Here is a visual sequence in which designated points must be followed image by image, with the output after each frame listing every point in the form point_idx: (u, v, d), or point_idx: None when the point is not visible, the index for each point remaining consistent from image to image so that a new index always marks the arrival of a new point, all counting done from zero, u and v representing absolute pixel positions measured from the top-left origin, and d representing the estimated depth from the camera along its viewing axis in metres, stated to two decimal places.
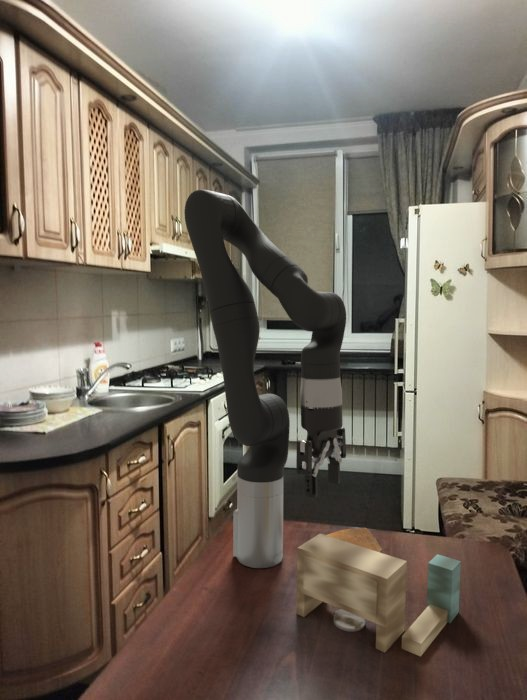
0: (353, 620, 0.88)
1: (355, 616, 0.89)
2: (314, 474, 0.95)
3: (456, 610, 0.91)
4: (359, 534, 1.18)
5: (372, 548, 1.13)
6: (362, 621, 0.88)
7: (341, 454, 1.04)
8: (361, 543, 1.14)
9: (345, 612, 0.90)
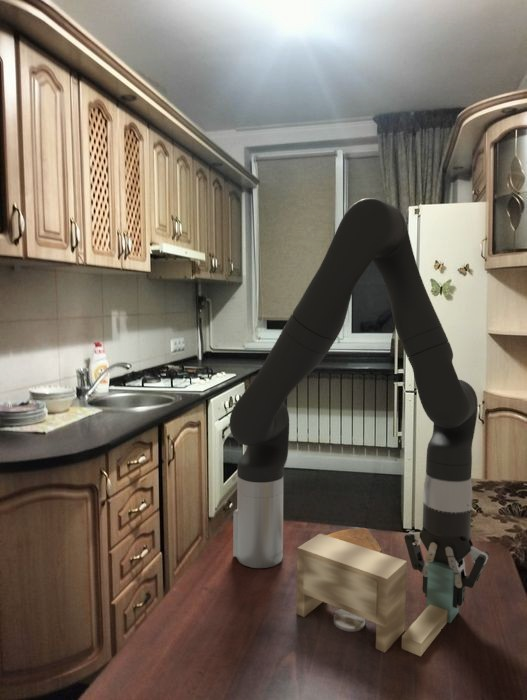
0: (352, 620, 0.88)
1: (355, 616, 0.89)
2: None
3: (456, 610, 0.91)
4: (358, 534, 1.17)
5: (372, 548, 1.13)
6: (362, 621, 0.88)
7: (423, 561, 0.94)
8: (361, 543, 1.14)
9: (345, 612, 0.90)
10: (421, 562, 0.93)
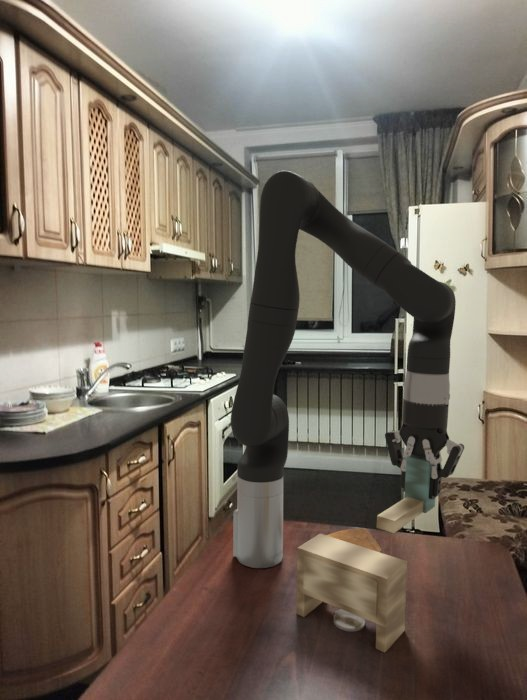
0: (352, 620, 0.88)
1: (355, 616, 0.89)
2: None
3: (432, 503, 0.95)
4: (358, 535, 1.17)
5: (372, 548, 1.13)
6: (362, 621, 0.88)
7: (403, 459, 0.98)
8: (361, 543, 1.14)
9: (345, 612, 0.90)
10: (400, 459, 0.97)
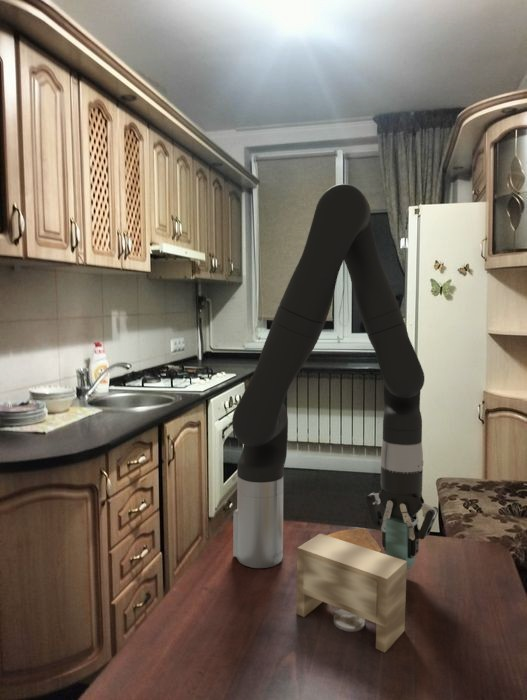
0: (352, 620, 0.88)
1: (355, 616, 0.89)
2: None
3: (411, 561, 1.02)
4: (358, 535, 1.17)
5: (372, 549, 1.13)
6: (362, 621, 0.88)
7: None
8: (361, 544, 1.14)
9: (345, 612, 0.90)
10: (380, 520, 1.05)
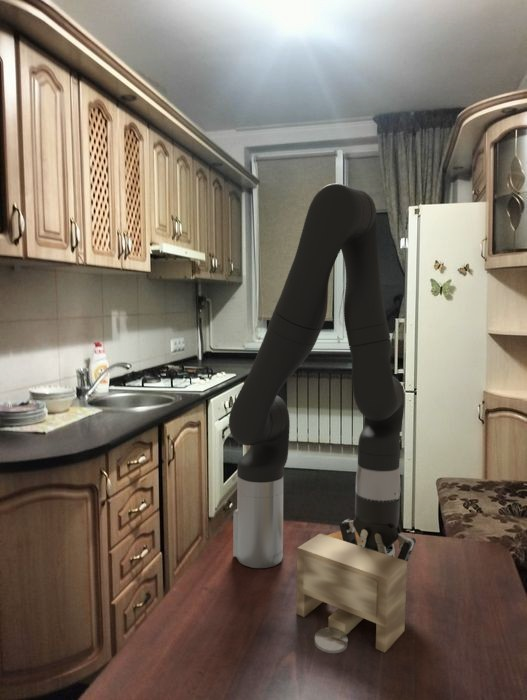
0: (335, 641, 0.83)
1: (337, 636, 0.84)
2: None
3: None
4: (357, 535, 1.17)
5: None
6: (345, 641, 0.83)
7: None
8: None
9: (326, 632, 0.85)
10: None
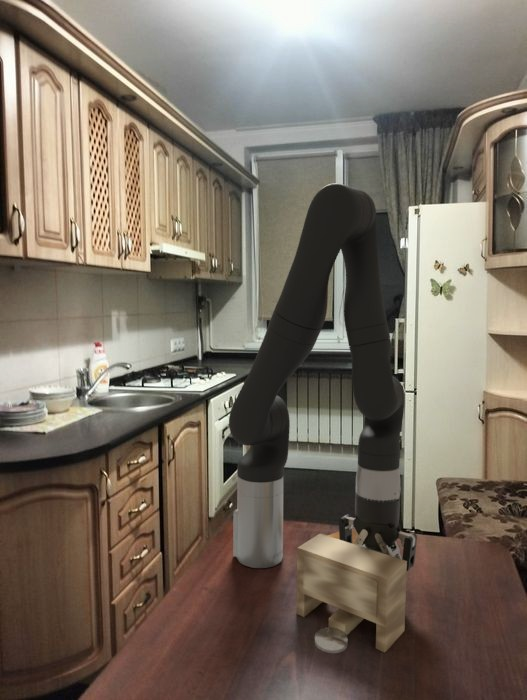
0: (335, 641, 0.83)
1: (337, 636, 0.84)
2: None
3: None
4: (357, 535, 1.17)
5: None
6: (345, 641, 0.82)
7: None
8: None
9: (326, 632, 0.85)
10: None
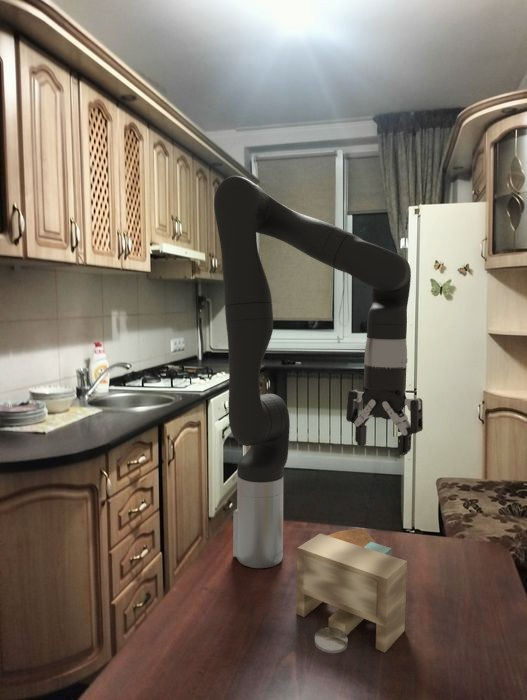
0: (335, 641, 0.83)
1: (337, 636, 0.84)
2: None
3: None
4: (357, 535, 1.17)
5: None
6: (345, 641, 0.83)
7: (357, 416, 1.05)
8: (360, 544, 1.14)
9: (326, 632, 0.85)
10: (354, 415, 1.04)
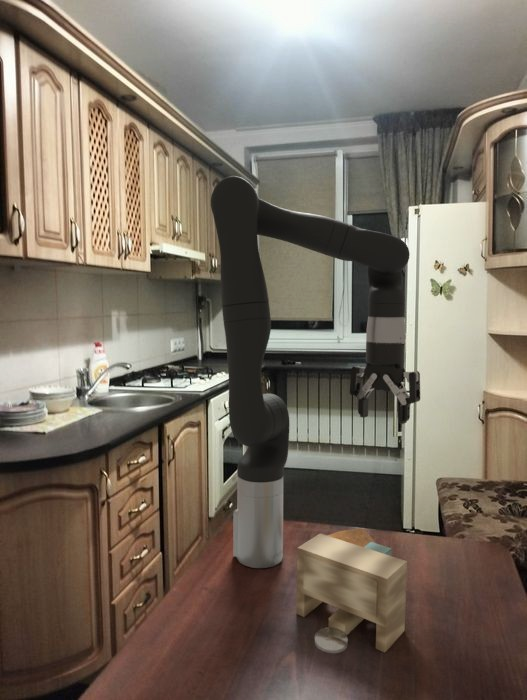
0: (335, 641, 0.83)
1: (337, 636, 0.84)
2: None
3: None
4: (357, 535, 1.17)
5: None
6: (345, 641, 0.83)
7: (359, 390, 1.14)
8: (360, 544, 1.14)
9: (326, 632, 0.85)
10: (357, 389, 1.13)
